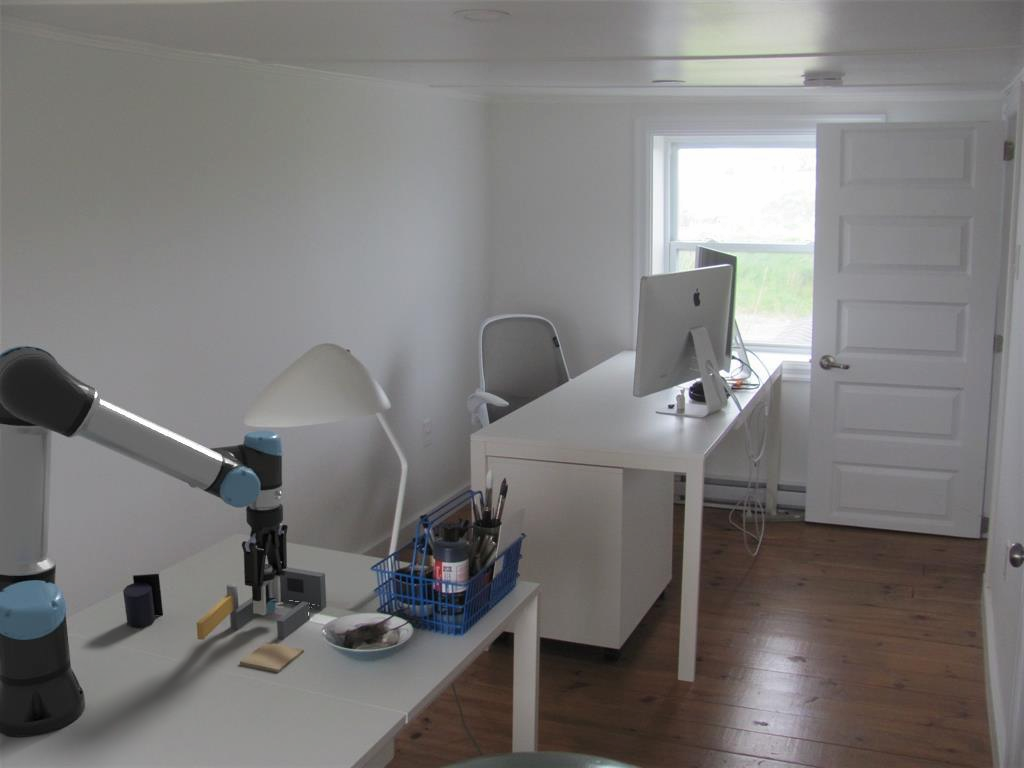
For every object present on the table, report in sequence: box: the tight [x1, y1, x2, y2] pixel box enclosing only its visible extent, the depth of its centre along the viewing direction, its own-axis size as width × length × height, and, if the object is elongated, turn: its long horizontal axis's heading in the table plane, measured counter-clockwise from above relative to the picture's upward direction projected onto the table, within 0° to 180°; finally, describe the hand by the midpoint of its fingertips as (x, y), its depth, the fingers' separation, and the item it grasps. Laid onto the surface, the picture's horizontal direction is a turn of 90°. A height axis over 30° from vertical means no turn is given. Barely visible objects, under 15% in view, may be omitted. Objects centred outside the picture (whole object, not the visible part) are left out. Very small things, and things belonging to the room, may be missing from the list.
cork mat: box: [239, 641, 305, 673], centre depth 203 cm, size 9×9×1 cm
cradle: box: [229, 567, 327, 640], centre depth 221 cm, size 17×14×8 cm
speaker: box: [122, 573, 164, 629], centre depth 218 cm, size 8×6×10 cm
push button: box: [252, 563, 284, 614], centre depth 217 cm, size 7×5×10 cm
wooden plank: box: [196, 583, 240, 640], centre depth 209 cm, size 16×2×5 cm, turn 170°
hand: (267, 608), depth 217 cm, fingers closed on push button, 5 cm apart
